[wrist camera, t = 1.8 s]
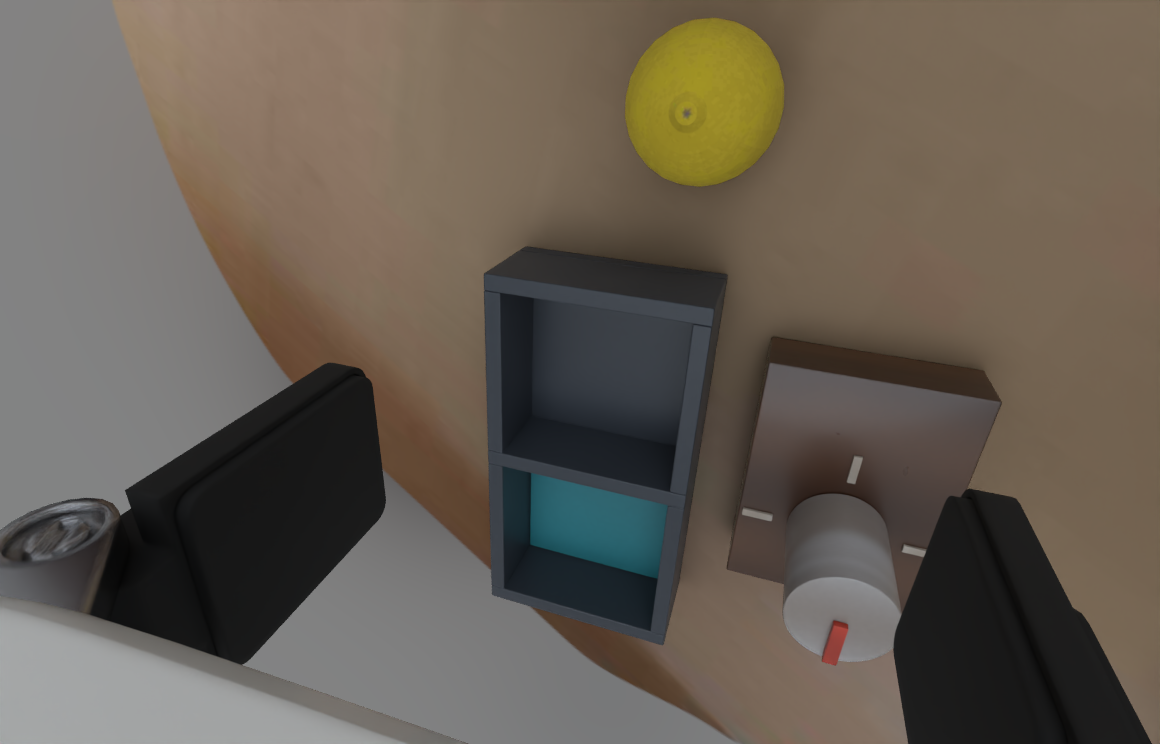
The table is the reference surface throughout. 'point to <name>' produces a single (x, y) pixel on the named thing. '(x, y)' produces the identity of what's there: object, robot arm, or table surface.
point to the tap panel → (858, 447)
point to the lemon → (704, 102)
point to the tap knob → (840, 579)
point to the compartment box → (595, 431)
